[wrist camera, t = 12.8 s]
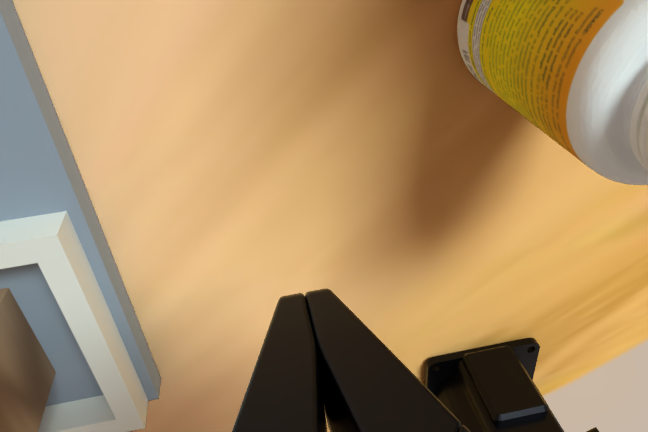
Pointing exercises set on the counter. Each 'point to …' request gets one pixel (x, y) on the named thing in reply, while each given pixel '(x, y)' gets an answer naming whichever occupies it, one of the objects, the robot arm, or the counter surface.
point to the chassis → (64, 260)
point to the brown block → (21, 370)
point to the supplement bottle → (568, 73)
